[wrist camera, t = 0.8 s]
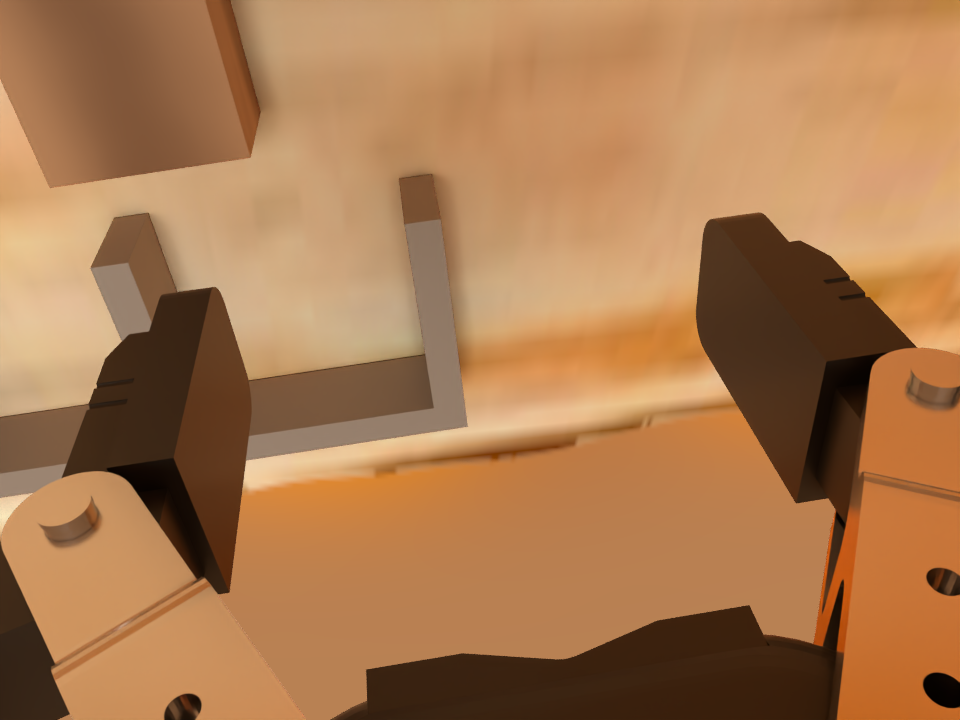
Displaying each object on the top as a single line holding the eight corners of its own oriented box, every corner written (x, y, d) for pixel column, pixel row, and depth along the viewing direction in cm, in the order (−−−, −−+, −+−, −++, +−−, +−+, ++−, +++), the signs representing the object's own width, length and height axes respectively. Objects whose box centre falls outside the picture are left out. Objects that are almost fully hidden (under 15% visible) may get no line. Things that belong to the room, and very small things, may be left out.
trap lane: (452, -220, 23) (466, -213, 21) (504, 366, 36) (517, 419, 33) (-602, -99, 22) (-738, -74, 19) (-164, 465, 35) (-208, 529, 32)
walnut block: (207, -87, 25) (187, -61, 22) (261, 109, 28) (250, 157, 25) (2, -58, 25) (-48, -27, 21) (82, 136, 28) (49, 188, 25)
